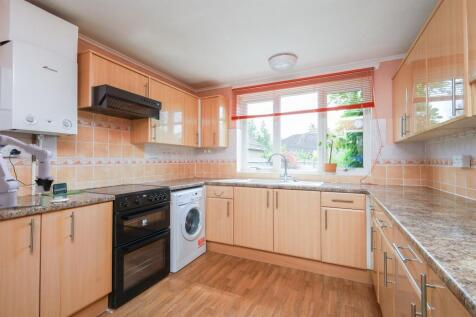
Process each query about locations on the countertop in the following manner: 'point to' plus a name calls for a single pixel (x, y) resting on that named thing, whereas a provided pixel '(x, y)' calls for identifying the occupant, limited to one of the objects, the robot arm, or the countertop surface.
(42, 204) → the block
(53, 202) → the cream round disc
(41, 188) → the grey square block
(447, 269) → the countertop surface
